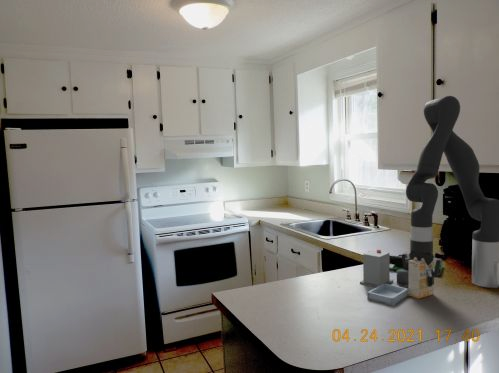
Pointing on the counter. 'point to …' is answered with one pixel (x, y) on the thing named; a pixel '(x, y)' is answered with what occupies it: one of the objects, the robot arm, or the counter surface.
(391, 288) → the tray
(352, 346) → the counter surface
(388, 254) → the control box
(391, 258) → the electronic board model
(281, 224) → the counter surface
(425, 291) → the supplement box
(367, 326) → the counter surface
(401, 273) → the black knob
